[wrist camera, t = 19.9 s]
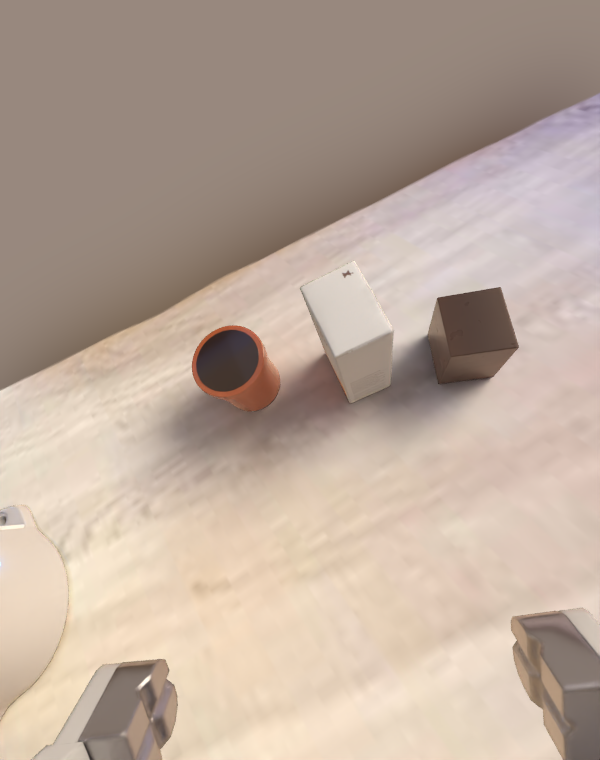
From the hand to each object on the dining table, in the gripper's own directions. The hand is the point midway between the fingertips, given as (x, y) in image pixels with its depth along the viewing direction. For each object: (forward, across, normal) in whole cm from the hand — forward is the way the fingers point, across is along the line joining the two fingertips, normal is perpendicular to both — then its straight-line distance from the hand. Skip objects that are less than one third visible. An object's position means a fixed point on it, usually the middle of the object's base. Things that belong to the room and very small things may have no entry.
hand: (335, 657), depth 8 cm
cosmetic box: (+27, +4, +1) cm, 27 cm away
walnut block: (+26, +13, +1) cm, 29 cm away
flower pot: (+28, -6, +1) cm, 29 cm away
